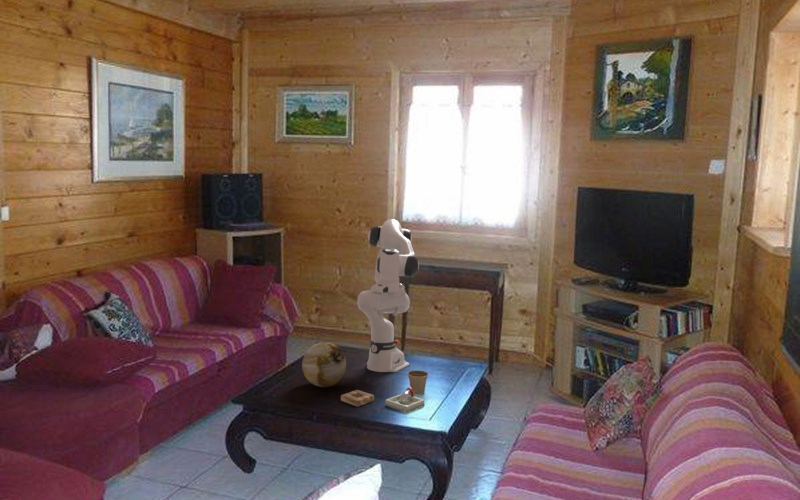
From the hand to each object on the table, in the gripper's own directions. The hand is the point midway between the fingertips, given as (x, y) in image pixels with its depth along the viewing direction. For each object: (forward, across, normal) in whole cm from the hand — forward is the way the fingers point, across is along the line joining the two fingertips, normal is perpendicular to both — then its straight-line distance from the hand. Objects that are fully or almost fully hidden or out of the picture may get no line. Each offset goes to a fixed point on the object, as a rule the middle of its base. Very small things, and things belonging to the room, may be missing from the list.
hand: (388, 317), depth 297 cm
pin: (+31, +10, +16) cm, 37 cm away
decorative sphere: (+34, +14, -25) cm, 45 cm away
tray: (+34, +7, +17) cm, 39 cm away
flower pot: (+34, -10, +10) cm, 37 cm away
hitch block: (+34, +17, -1) cm, 38 cm away
